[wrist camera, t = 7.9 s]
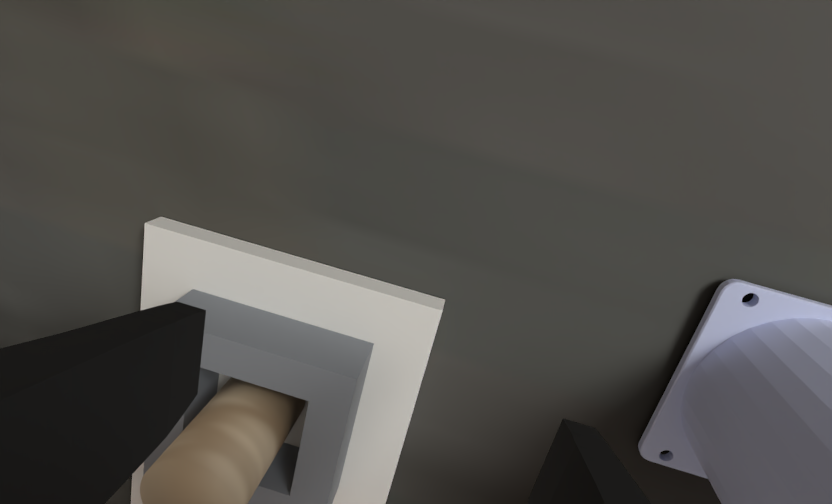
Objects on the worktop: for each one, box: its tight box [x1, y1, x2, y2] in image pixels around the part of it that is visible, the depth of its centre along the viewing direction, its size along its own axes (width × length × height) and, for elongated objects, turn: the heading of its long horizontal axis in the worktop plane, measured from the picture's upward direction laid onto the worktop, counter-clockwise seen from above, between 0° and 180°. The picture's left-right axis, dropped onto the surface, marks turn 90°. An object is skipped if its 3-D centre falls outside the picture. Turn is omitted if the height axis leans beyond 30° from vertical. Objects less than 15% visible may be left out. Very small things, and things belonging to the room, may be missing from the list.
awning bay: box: [131, 217, 445, 504], centre depth 20 cm, size 12×16×7 cm
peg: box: [140, 377, 306, 504], centre depth 18 cm, size 3×3×6 cm
